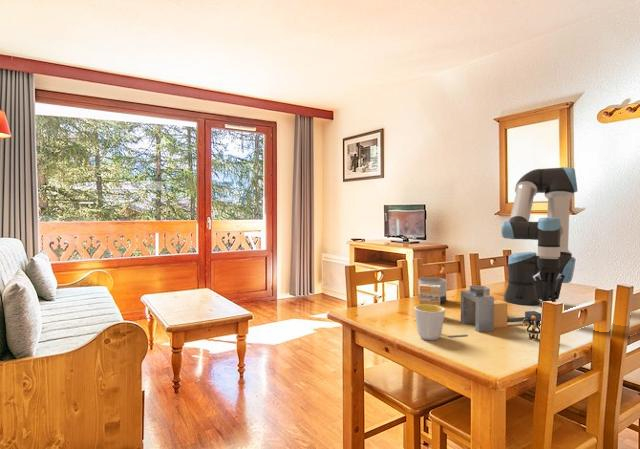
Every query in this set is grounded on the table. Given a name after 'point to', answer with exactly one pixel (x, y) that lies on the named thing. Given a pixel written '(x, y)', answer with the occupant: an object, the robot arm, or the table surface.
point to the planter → (434, 282)
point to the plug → (502, 319)
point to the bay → (457, 335)
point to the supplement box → (429, 294)
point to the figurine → (534, 326)
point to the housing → (477, 309)
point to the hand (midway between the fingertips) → (547, 317)
